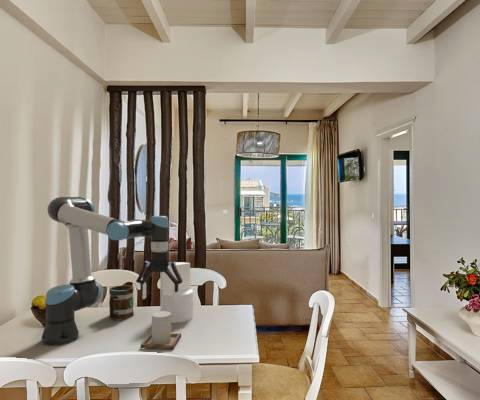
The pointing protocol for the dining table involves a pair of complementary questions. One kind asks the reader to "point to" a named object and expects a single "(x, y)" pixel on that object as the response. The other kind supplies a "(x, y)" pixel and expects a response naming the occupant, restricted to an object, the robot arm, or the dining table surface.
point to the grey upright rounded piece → (161, 327)
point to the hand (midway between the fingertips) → (159, 298)
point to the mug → (121, 302)
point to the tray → (170, 346)
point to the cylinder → (177, 294)
